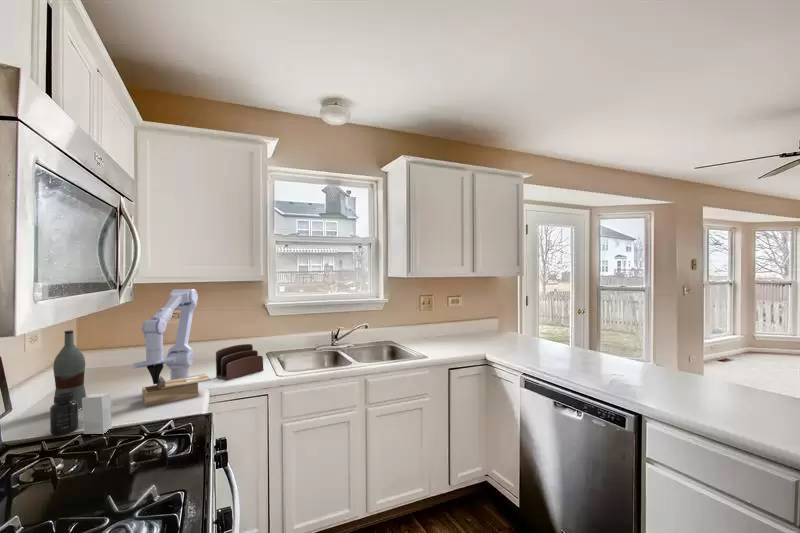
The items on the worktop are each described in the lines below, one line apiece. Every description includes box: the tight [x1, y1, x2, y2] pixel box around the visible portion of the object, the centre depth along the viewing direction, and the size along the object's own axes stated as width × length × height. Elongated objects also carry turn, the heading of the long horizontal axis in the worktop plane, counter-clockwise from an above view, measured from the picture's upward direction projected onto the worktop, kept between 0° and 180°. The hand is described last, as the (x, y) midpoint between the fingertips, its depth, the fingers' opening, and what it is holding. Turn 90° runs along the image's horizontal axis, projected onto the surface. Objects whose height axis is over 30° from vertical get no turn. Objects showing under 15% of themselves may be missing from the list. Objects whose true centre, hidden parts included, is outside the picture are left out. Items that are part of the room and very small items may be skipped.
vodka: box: [52, 329, 87, 410], centre depth 143 cm, size 9×9×30 cm
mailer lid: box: [156, 373, 212, 390], centre depth 157 cm, size 11×18×3 cm, turn 131°
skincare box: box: [81, 392, 113, 435], centre depth 119 cm, size 6×4×12 cm
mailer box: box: [141, 383, 199, 407], centre depth 153 cm, size 11×18×5 cm, turn 131°
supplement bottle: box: [49, 392, 79, 436], centre depth 122 cm, size 7×7×12 cm
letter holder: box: [215, 343, 265, 381], centre depth 188 cm, size 10×20×14 cm, turn 145°
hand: (155, 383), depth 150 cm, fingers closed
